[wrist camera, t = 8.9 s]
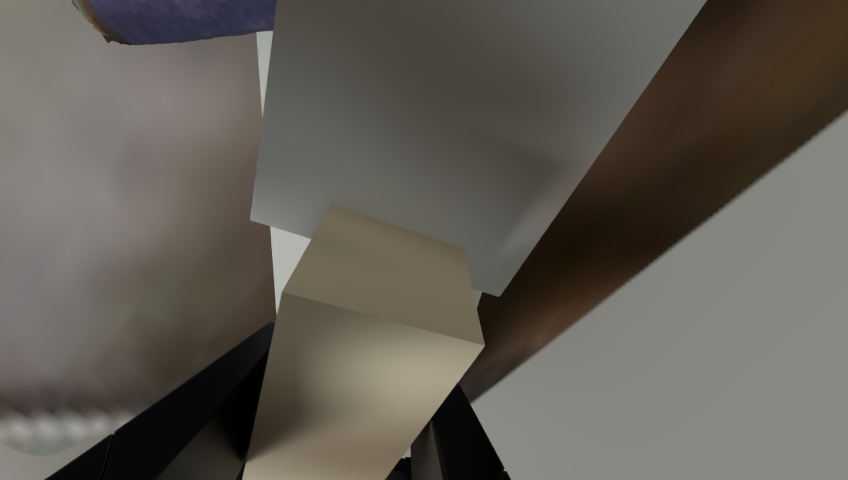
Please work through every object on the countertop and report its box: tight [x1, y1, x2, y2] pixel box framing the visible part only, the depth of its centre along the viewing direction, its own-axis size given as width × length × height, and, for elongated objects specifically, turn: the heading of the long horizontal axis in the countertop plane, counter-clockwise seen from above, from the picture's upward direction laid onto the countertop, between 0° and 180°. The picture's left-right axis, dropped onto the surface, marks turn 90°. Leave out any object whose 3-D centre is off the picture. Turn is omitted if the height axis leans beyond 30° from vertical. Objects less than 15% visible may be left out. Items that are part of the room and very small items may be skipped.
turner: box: [242, 0, 707, 480], centre depth 6 cm, size 14×6×4 cm, turn 158°
